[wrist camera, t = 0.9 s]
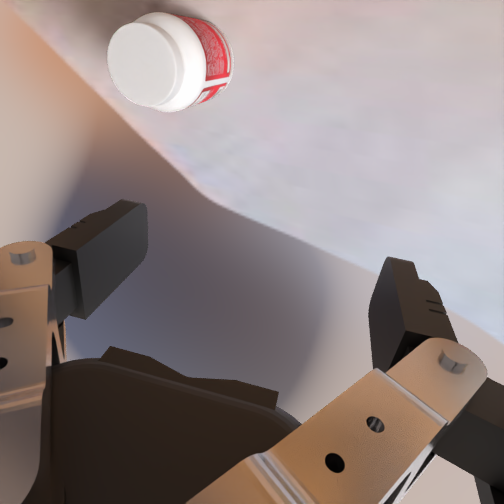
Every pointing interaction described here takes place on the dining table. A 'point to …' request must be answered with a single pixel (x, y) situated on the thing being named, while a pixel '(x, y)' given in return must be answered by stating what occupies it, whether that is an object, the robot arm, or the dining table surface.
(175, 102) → the pill bottle
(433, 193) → the dining table surface
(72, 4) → the dining table surface
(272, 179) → the dining table surface
